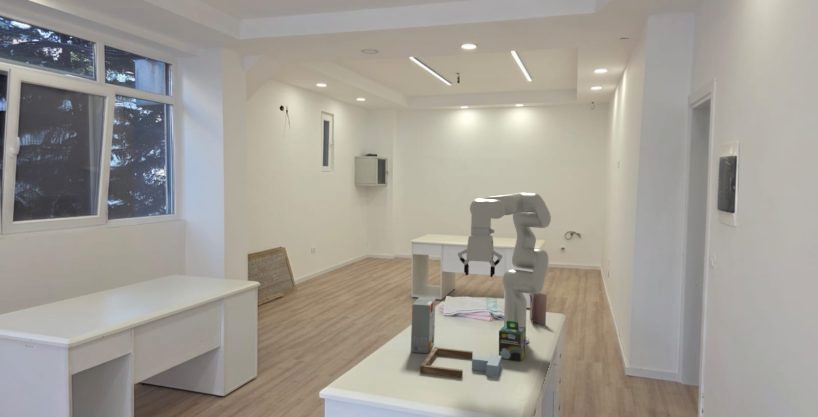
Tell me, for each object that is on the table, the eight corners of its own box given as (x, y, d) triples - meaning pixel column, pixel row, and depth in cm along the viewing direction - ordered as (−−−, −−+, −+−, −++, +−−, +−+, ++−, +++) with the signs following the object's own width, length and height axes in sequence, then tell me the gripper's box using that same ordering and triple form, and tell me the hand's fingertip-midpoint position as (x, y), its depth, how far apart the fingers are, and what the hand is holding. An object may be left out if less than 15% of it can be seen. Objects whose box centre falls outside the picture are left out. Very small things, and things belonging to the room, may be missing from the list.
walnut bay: (434, 353, 216) (434, 347, 216) (472, 357, 212) (472, 351, 211) (420, 372, 194) (420, 366, 194) (461, 377, 190) (461, 371, 189)
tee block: (475, 362, 206) (475, 352, 206) (501, 365, 203) (501, 355, 203) (469, 373, 194) (470, 362, 194) (497, 376, 191) (497, 366, 191)
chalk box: (525, 355, 216) (527, 319, 215) (520, 362, 208) (521, 324, 207) (503, 351, 220) (504, 316, 219) (497, 358, 211) (498, 321, 211)
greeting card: (527, 319, 271) (528, 290, 270) (542, 319, 271) (543, 290, 270) (530, 325, 260) (531, 295, 259) (546, 326, 259) (547, 295, 258)
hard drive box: (428, 354, 215) (429, 305, 214) (410, 352, 216) (411, 304, 215) (434, 342, 230) (435, 297, 229) (417, 341, 231) (418, 296, 230)
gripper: (504, 232, 207) (502, 275, 207) (460, 230, 211) (458, 272, 212) (502, 233, 199) (500, 278, 200) (457, 231, 204) (455, 275, 205)
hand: (479, 275), depth 206 cm, fingers open, 9 cm apart
